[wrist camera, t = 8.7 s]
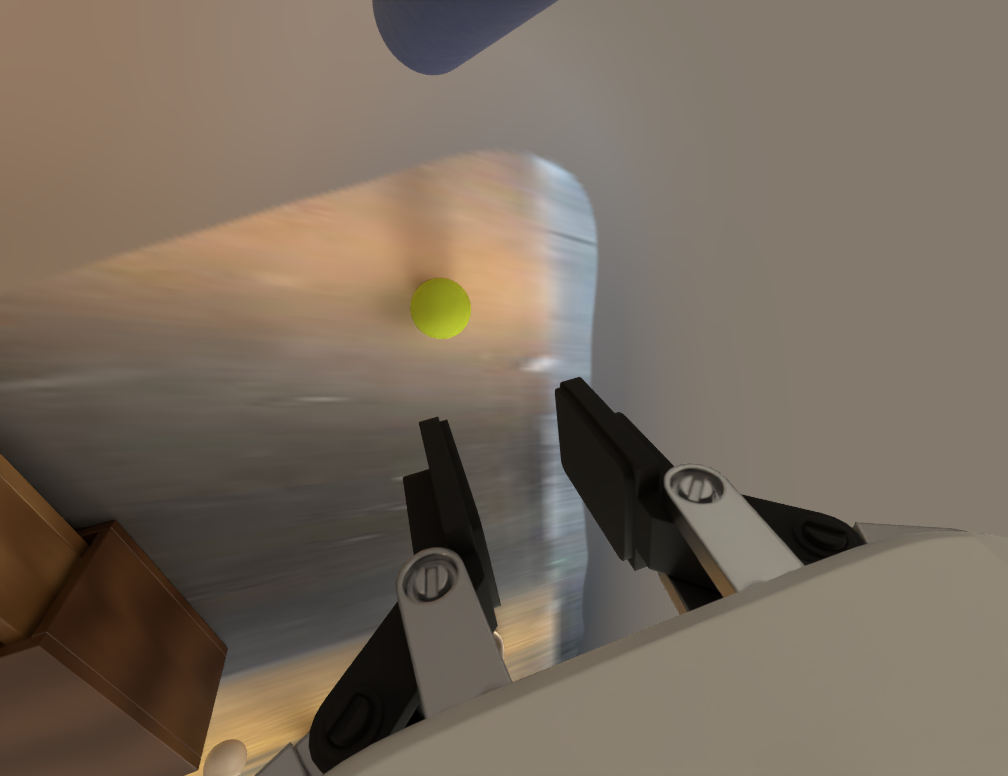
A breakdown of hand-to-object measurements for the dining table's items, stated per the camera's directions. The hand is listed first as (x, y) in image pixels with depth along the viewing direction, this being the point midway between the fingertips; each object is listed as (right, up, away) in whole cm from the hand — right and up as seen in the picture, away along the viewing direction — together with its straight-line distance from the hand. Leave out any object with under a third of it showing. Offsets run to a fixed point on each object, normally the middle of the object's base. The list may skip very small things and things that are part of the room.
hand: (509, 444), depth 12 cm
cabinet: (-24, -12, +15) cm, 31 cm away
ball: (-3, +6, +10) cm, 12 cm away
